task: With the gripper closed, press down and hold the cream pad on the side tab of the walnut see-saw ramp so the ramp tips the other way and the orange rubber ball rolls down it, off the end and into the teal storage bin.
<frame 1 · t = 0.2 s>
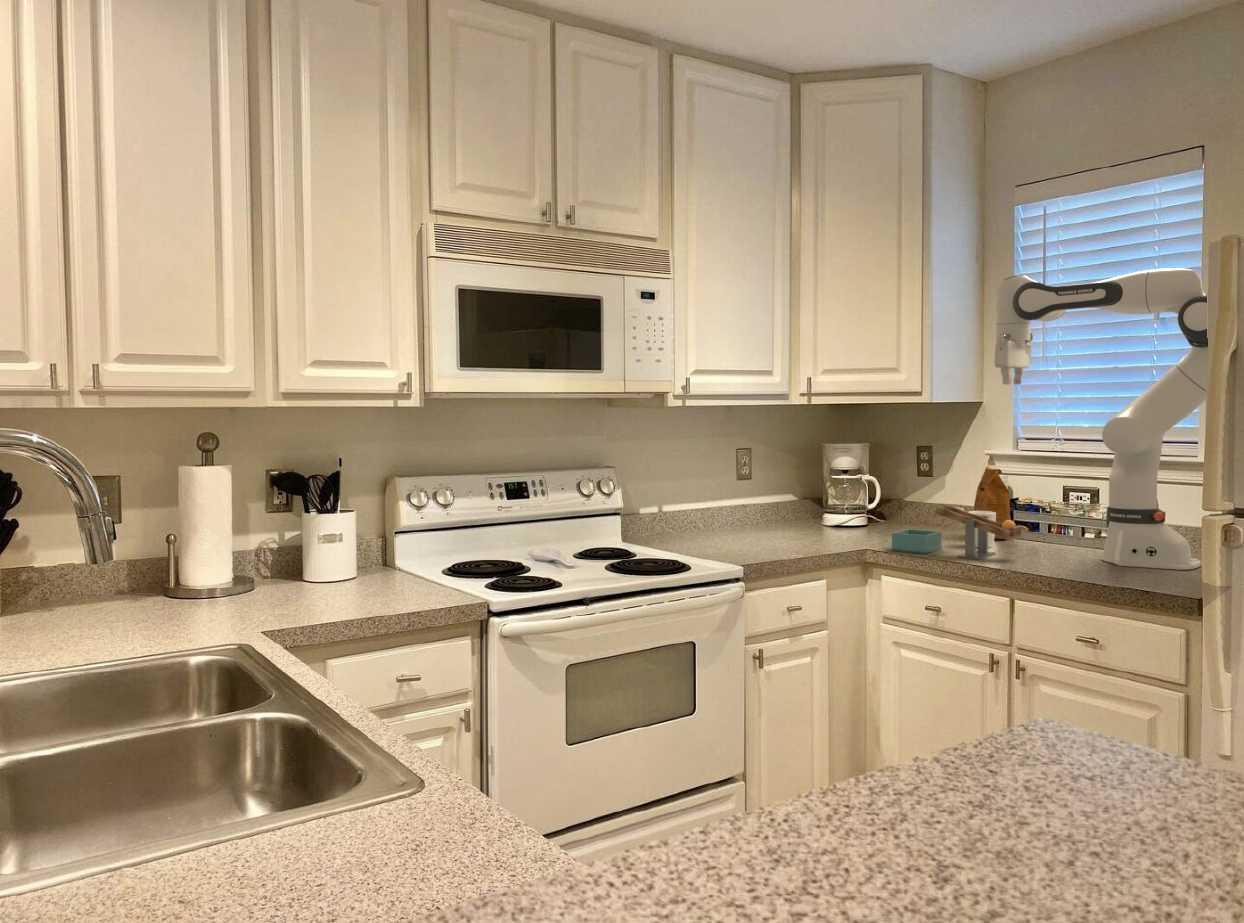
hand: (1012, 384, 267), 47 cm above the counter, fingers open, 8 cm apart
coffee package: (991, 538, 294), on the counter
teal storage bin: (916, 550, 273), on the counter
white cup: (981, 546, 279), on the counter
ball: (1008, 526, 255), point 9 cm above the counter, tilted 7°, touching lever
fulcrum: (976, 556, 261), on the counter
lever: (982, 518, 263), point 10 cm above the counter, hinge at -15.0°, touching ball
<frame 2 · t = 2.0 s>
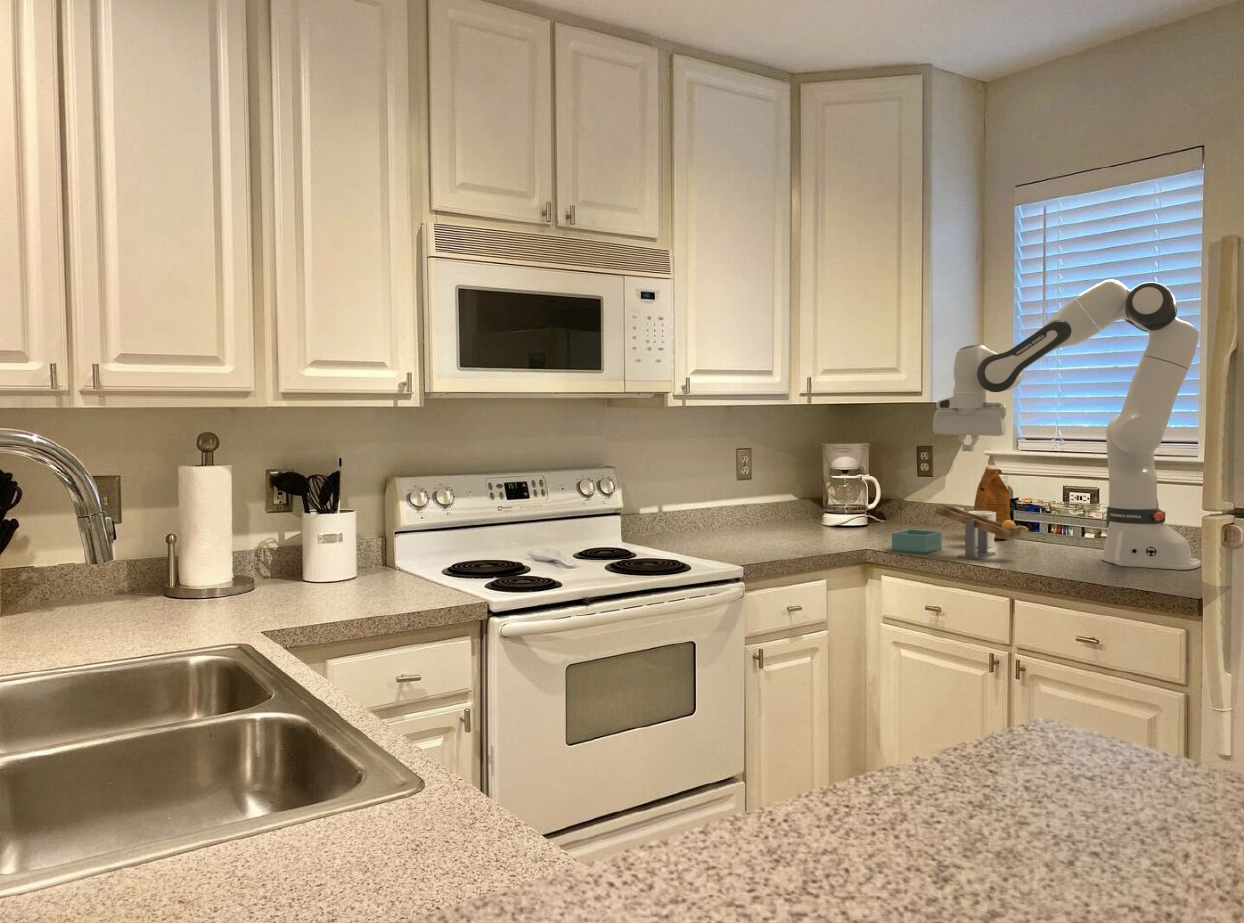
hand: (968, 451, 271), 28 cm above the counter, fingers closed
nothing on the counter moved.
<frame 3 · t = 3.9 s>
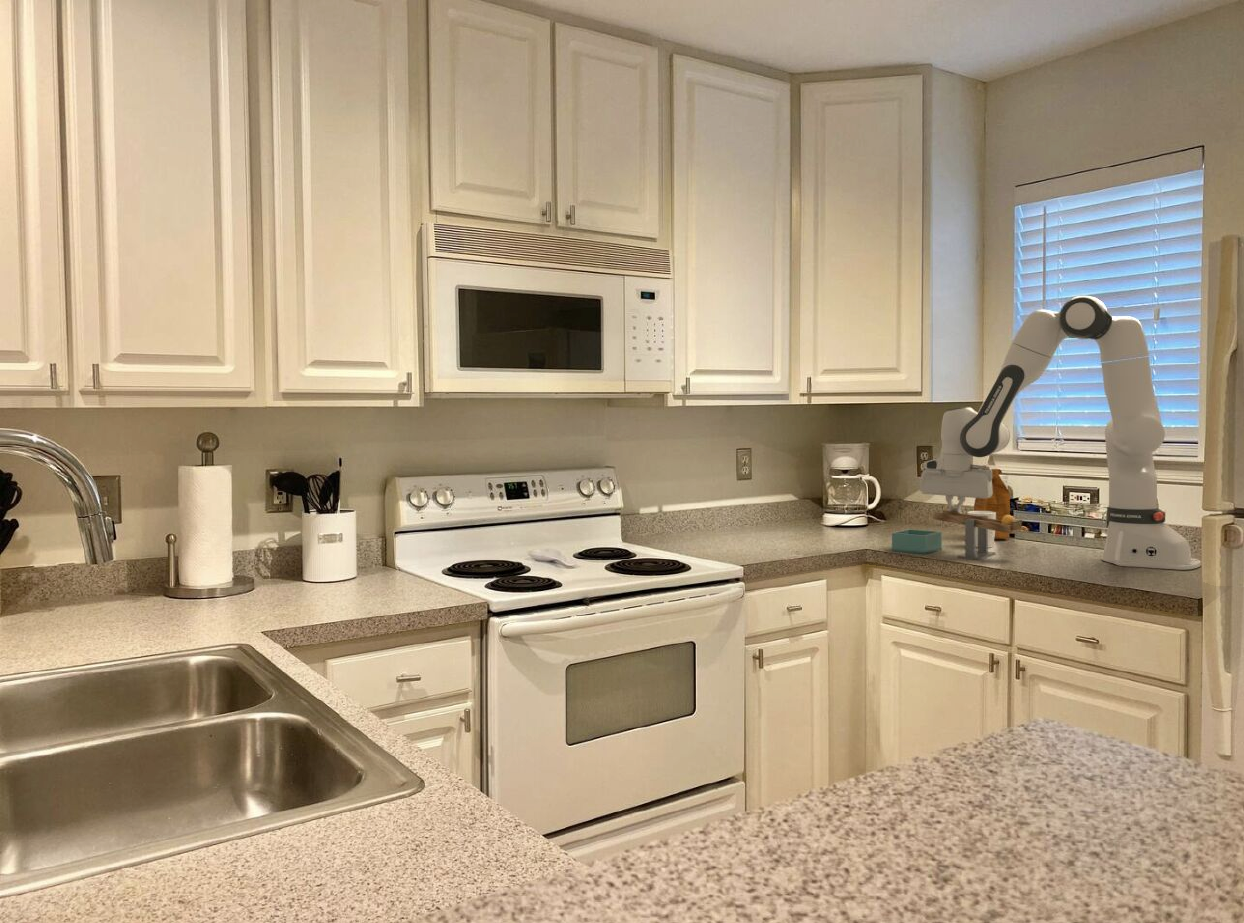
hand: (955, 511, 272), 11 cm above the counter, fingers closed, pressing on lever
ball: (1008, 521, 255), point 10 cm above the counter, touching lever
lever: (981, 518, 263), point 10 cm above the counter, hinge at -6.1°, touching ball, gripper
everything else where it was.
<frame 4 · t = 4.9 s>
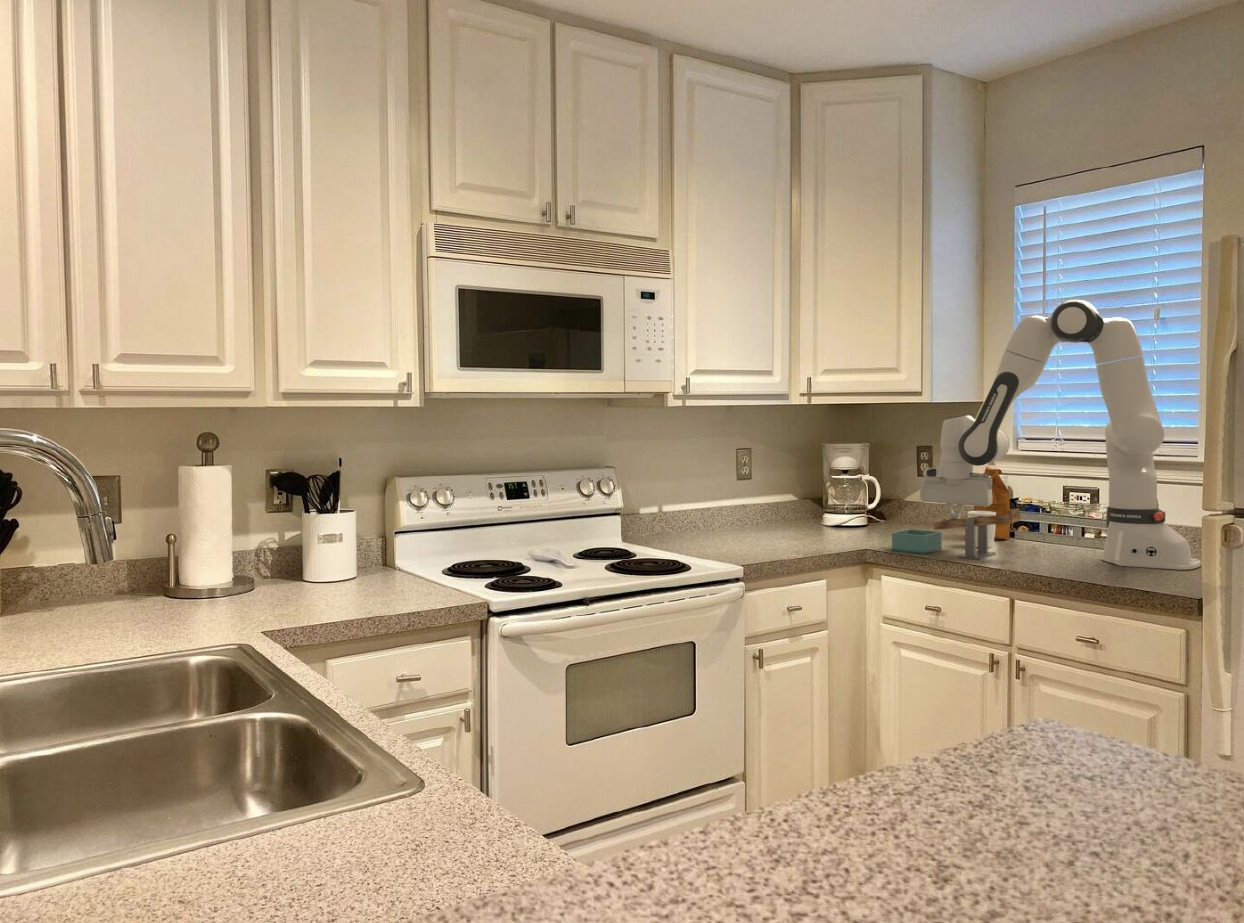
hand: (955, 519, 272), 9 cm above the counter, fingers closed
ball: (914, 542, 274), point 2 cm above the counter, tilted 168°, touching teal storage bin
lever: (980, 518, 263), point 10 cm above the counter, hinge at 9.4°, touching gripper
everything else where it was.
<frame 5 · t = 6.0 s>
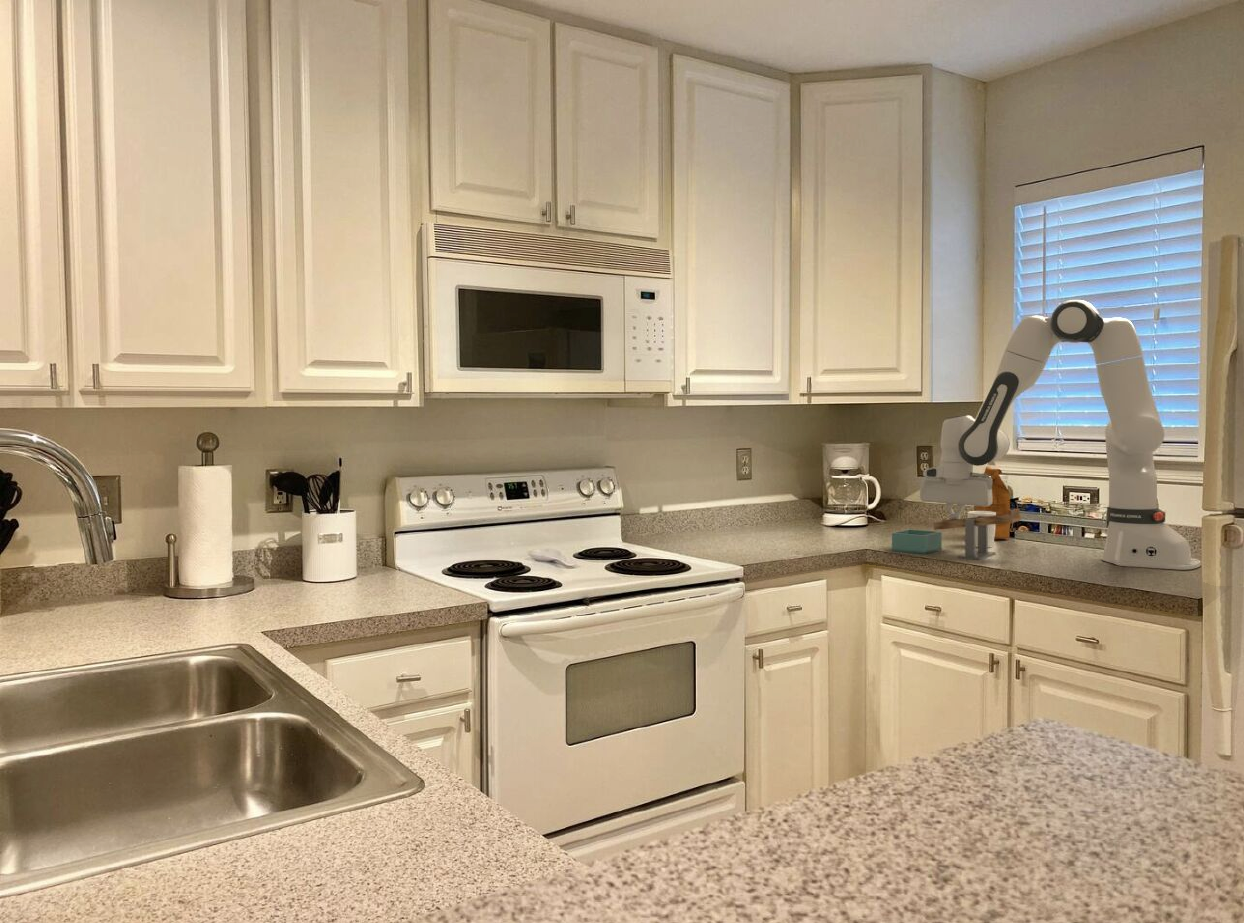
hand: (955, 519, 272), 9 cm above the counter, fingers closed
ball: (910, 541, 274), point 2 cm above the counter, tilted 97°, touching teal storage bin
everything else where it was.
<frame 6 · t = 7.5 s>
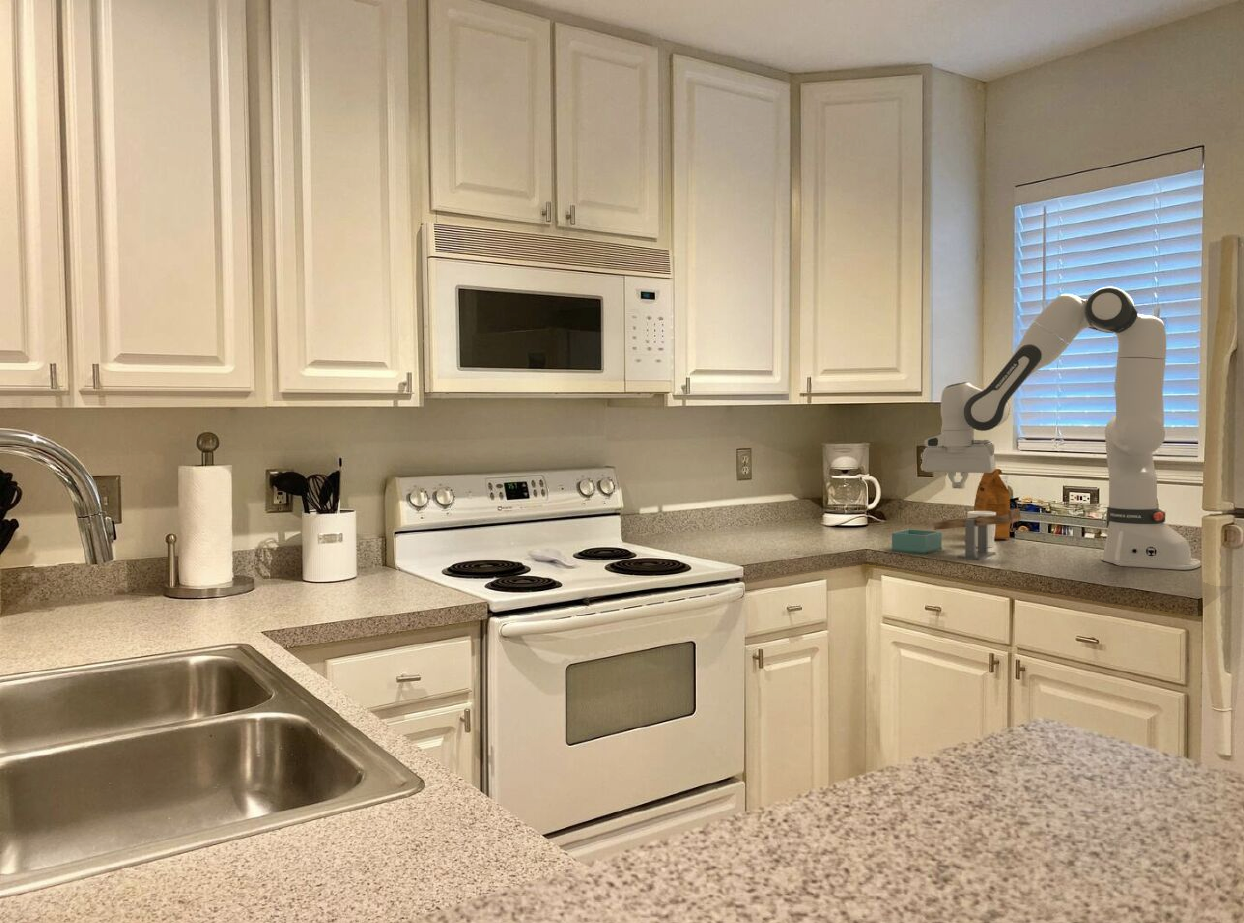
hand: (958, 488, 271), 18 cm above the counter, fingers closed
ball: (912, 541, 274), point 2 cm above the counter, tilted 118°, touching teal storage bin
lever: (980, 518, 263), point 10 cm above the counter, hinge at 9.5°
everything else where it was.
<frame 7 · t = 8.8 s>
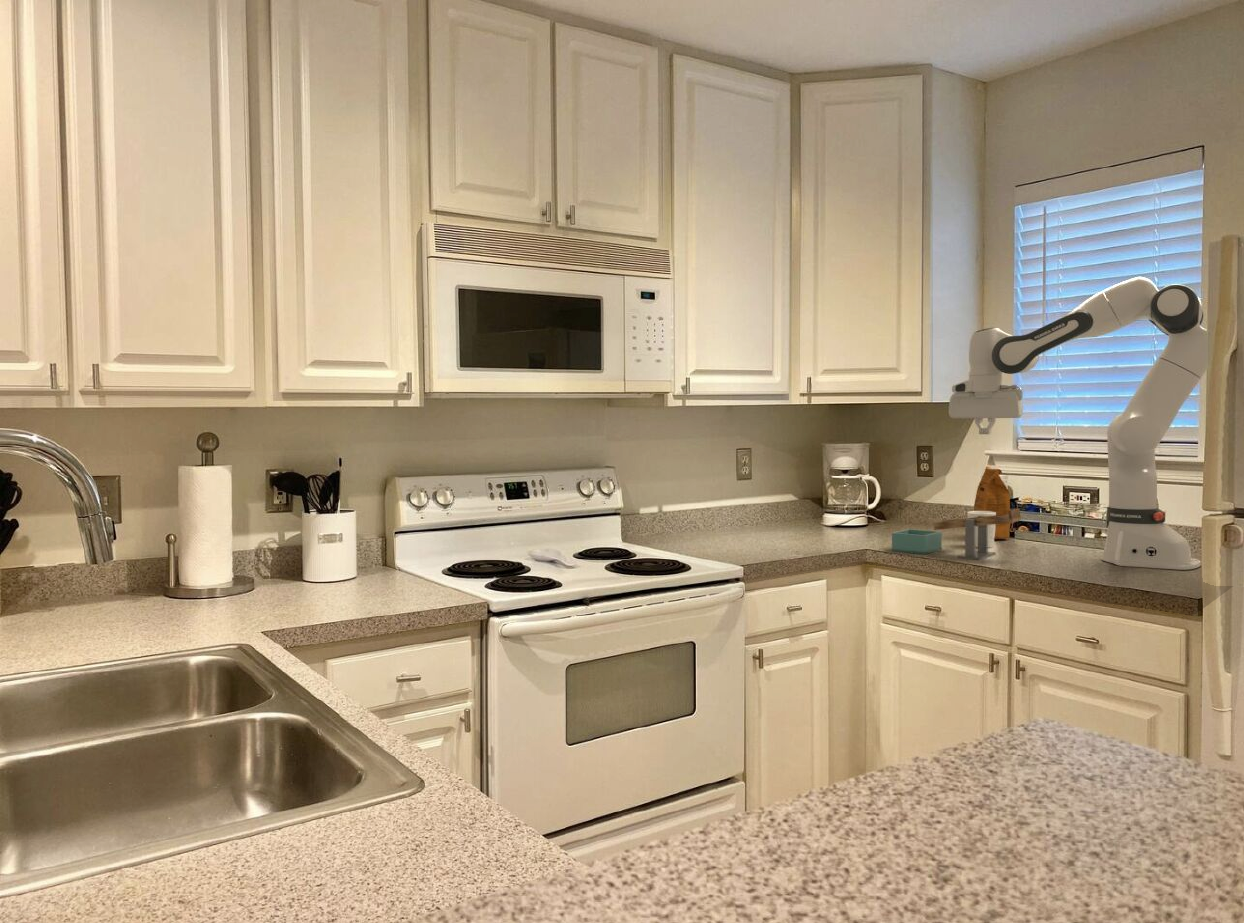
hand: (985, 434, 271), 33 cm above the counter, fingers closed
ball: (914, 541, 274), point 2 cm above the counter, tilted 136°, touching teal storage bin
everything else where it was.
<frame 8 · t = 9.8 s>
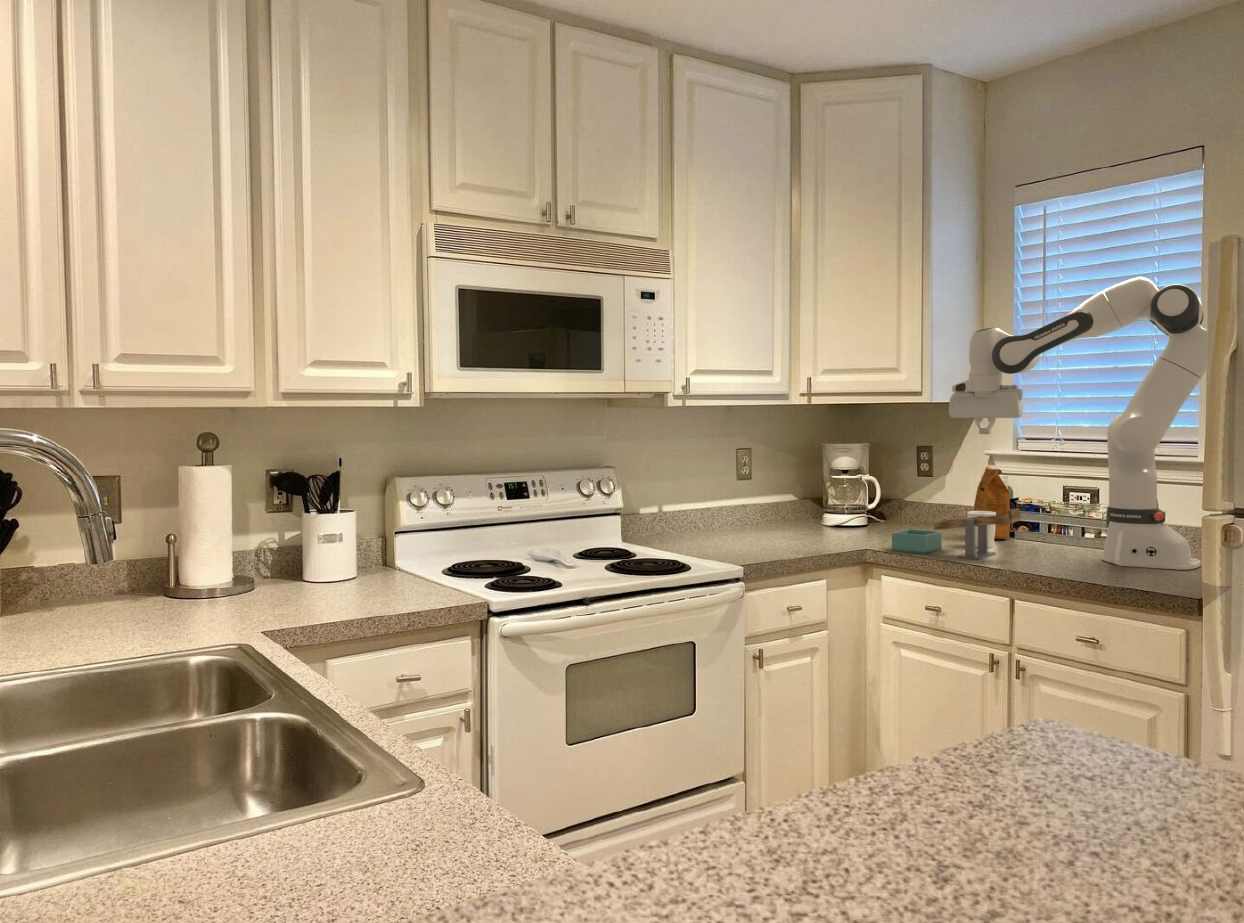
hand: (985, 434, 271), 33 cm above the counter, fingers closed
ball: (915, 542, 273), point 2 cm above the counter, tilted 149°, touching teal storage bin
everything else where it was.
at the end: ball inside the target area on the teal storage bin (0.3 cm from its centre), point 2.3 cm above the teal storage bin's base; ball touching teal storage bin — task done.
